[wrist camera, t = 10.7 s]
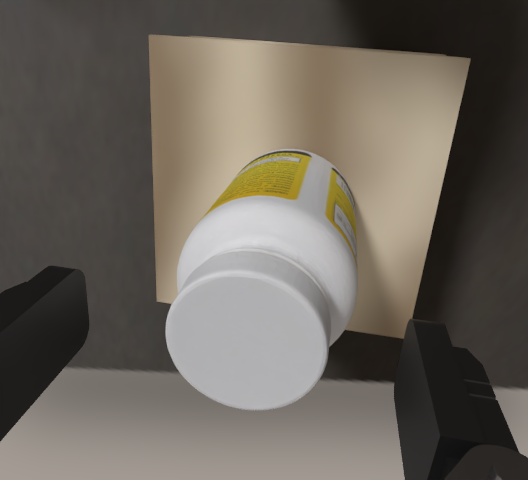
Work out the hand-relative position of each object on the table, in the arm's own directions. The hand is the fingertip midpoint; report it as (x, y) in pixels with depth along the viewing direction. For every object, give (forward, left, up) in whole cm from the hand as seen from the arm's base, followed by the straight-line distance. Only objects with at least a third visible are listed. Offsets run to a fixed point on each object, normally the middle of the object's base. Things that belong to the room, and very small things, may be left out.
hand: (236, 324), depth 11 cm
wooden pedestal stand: (0, 0, -15) cm, 15 cm away
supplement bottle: (0, 0, -10) cm, 10 cm away
